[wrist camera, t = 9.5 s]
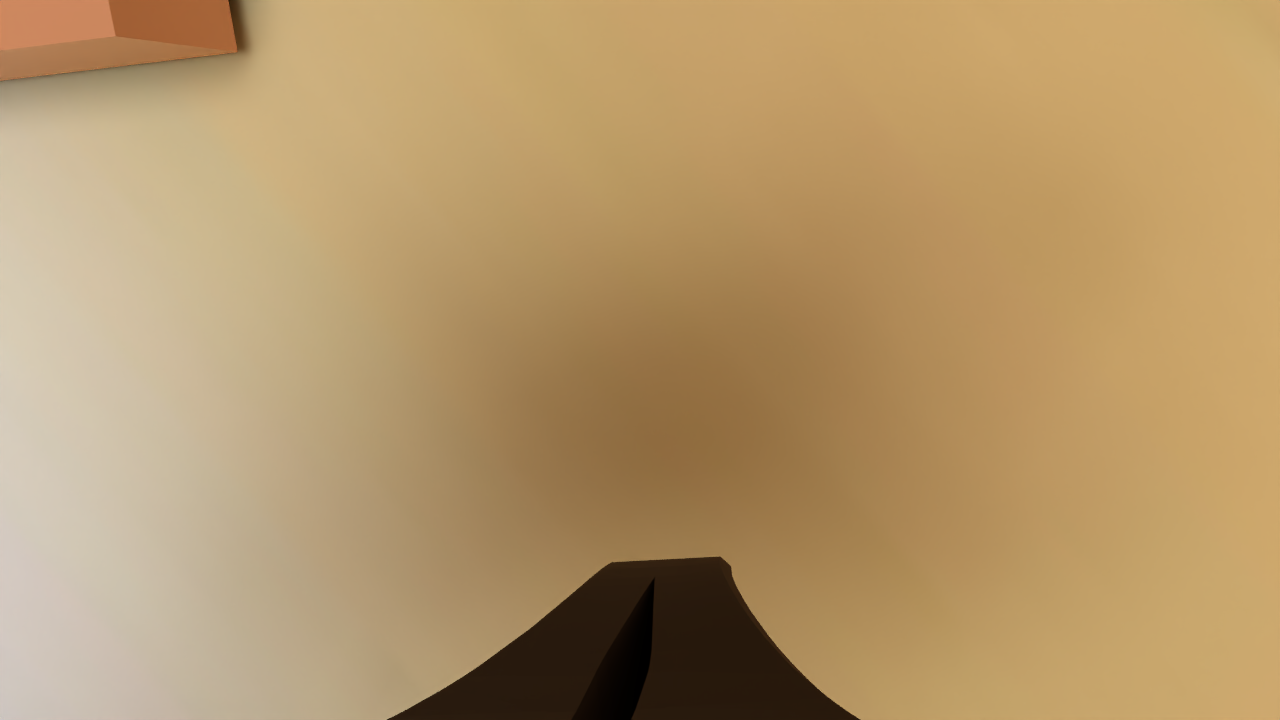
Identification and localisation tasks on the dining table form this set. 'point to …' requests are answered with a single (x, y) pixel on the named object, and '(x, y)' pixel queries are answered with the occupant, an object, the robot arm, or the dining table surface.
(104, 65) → the orange rectangular block
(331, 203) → the dining table surface
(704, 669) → the robot arm
